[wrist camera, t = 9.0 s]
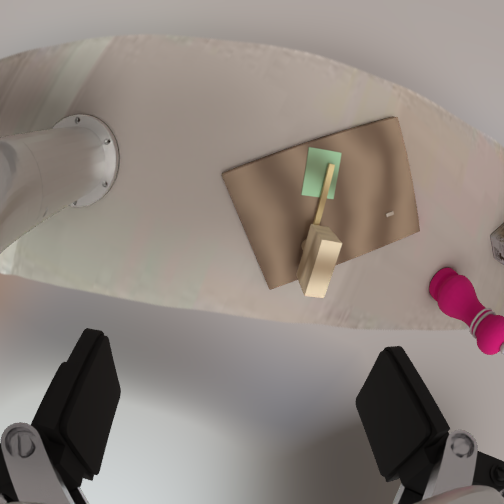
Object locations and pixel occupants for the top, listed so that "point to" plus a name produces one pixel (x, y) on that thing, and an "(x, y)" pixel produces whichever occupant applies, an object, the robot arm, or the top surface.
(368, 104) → the top surface
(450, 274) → the pepper mill
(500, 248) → the coffee box
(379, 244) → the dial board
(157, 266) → the top surface
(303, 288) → the wooden mallet
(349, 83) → the top surface
